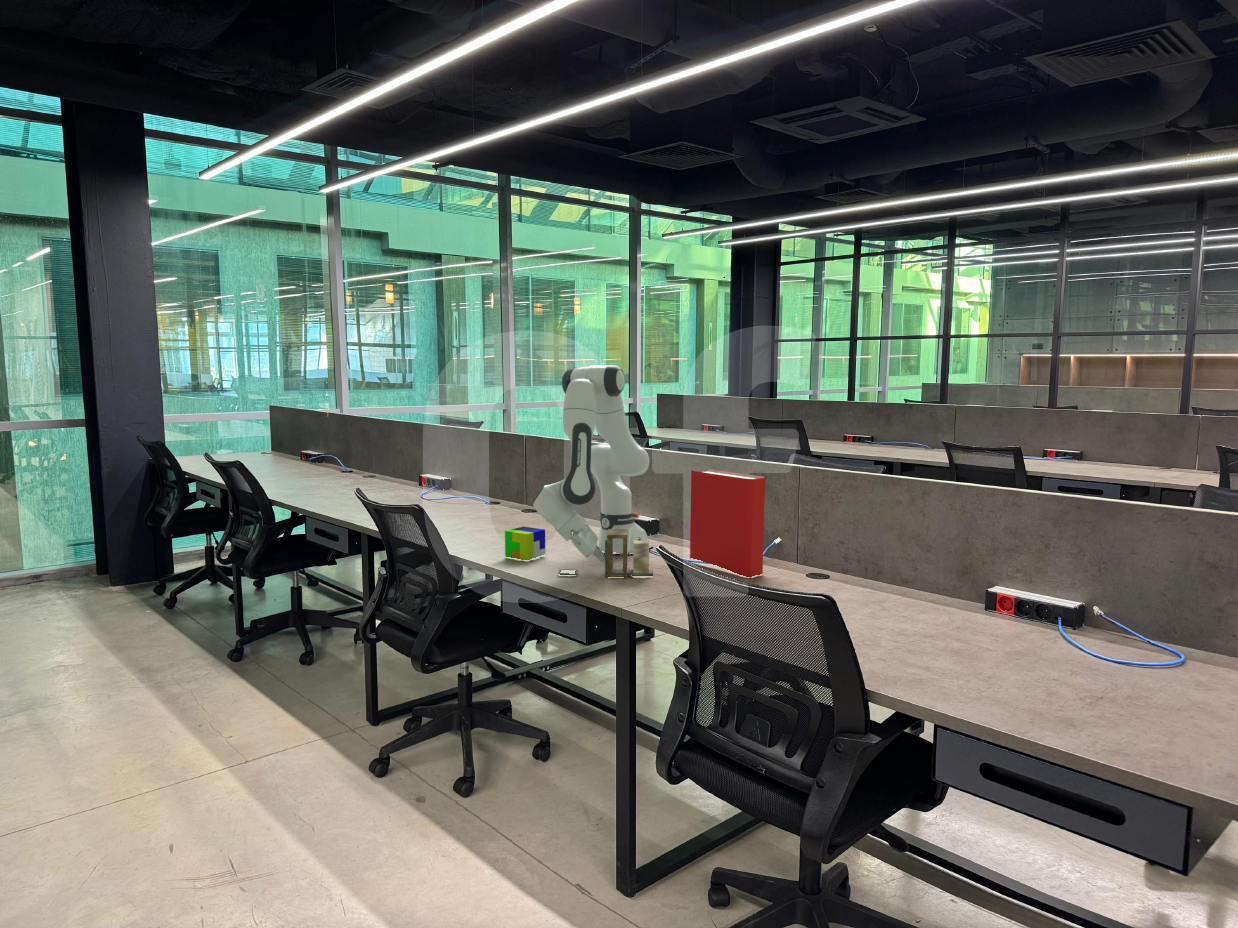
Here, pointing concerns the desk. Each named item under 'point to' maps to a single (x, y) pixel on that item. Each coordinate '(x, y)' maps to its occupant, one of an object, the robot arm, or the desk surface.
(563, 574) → the tray
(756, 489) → the book
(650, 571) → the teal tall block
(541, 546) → the puzzle toy
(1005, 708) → the desk surface
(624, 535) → the tunnel
